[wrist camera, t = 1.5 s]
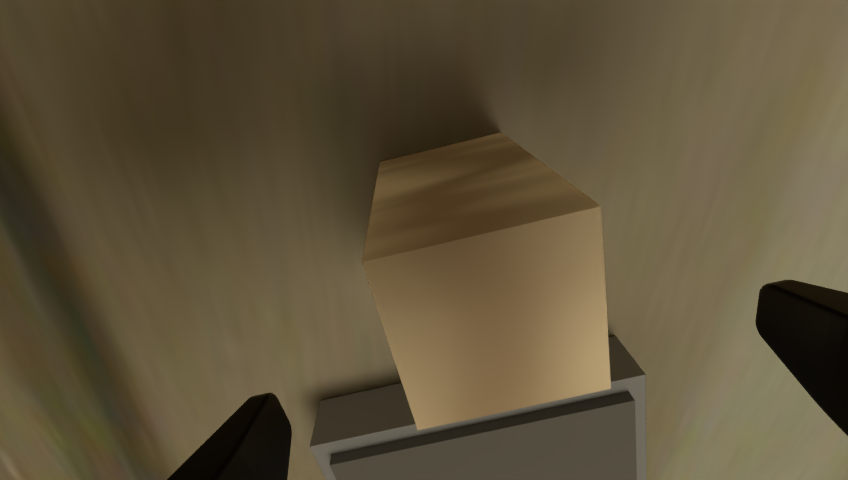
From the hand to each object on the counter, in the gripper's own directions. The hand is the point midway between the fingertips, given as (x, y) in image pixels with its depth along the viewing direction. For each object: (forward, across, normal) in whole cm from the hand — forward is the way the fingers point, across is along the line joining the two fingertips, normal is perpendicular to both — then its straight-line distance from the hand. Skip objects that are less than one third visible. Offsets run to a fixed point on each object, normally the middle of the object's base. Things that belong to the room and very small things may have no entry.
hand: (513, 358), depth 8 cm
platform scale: (+9, +1, +16) cm, 18 cm away
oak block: (+9, 0, 0) cm, 9 cm away
